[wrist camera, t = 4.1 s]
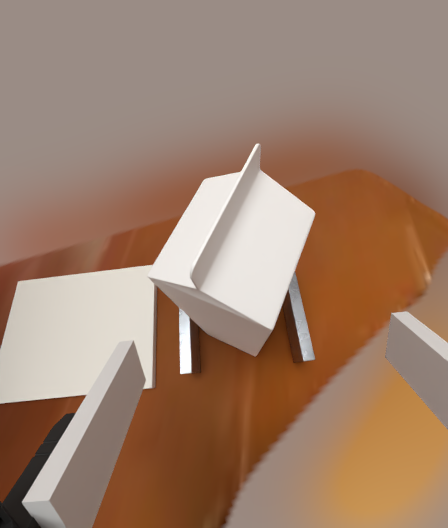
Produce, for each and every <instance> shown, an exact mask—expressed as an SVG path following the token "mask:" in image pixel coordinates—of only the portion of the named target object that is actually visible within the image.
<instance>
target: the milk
mask: <svg viewBox="0 0 448 528" xmlns="http://www.w3.org/2000/svg"><path fill="white" fill-rule="evenodd" d="M260 151H261V147H260V144H256V145H255V147H254V149H253V151H252V152H251V154H250V156H249V158H248V160H247V162H246V164H245V166H244V167H243V169H242V171H241V172H238V173H233V174H228V175H223V176H217V177H212V178H207V179H205V180H204V181H203V182H202V184H201V186H200V187H199V189H198V191H197V192H196V194H195V196H194V197H193V199H192V201H191V202H190V204H189V206H188V207H187V209H186V211H185V212H184V214H183V216H182V217H181V219H180V221H179V222H178V224H177V226H176V228H175V229H174V231H173V233H172V234H171V236H170V238H169V239H168V241H167V243H166V244H165V246H164V248H163V249H162V251H161V253H160V254H159V256H158V258H157V259H156V261H155V263H154V264H153V266H152V268H151V270H150V271H149V273H148V275H147V277H148V278H149V279H150V280H151V281H152V282H153V283H154V284H155V285H156V286H157V287H158V288H159V289H161V290H162V291H163V292H164V293H165V294H166V295H167V296H168V297H169V298H170V299H171V300H172V301H173V302H174V303H175V304H176V305H177V306H178V307H179V308H180V309H181V310H182V311H184V312H185V313H186V314H187V315H188V316H189V317H190V318H191V319H192V320H193V321H194V322H195V323H196V324H197V325H198V326H199V327H200V328H201V329H202V330H203V331H204V332H206V333H207V334H208V335H210V336H212V337H214V338H216V339H218V340H220V341H223V342H225V343H227V344H229V345H231V346H233V347H236V348H238V349H240V350H242V351H244V352H246V353H249V354H251V355H253V356H255V357H256V356H257V354H258V353H259V351H260V349H261V348H262V346H263V345H264V343H265V342H266V340H267V338H268V337H269V335H270V334H271V332H272V330H273V329H274V326H275V324H276V321H277V318H278V315H279V313H280V310H281V307H282V304H283V302H284V299H285V296H286V293H287V291H288V288H289V285H290V283H291V280H292V277H293V274H294V272H295V269H296V266H297V263H298V261H299V258H300V255H301V252H302V250H303V247H304V244H305V241H306V239H307V236H308V233H309V231H310V228H311V225H312V222H313V220H314V217H315V212H314V211H313V210H312V209H311V208H309V207H308V206H307V205H306V204H304V203H303V202H302V201H300V200H299V199H298V198H296V197H295V196H294V195H292V194H291V193H290V192H288V191H287V190H286V189H285V188H283V187H282V186H281V185H279V184H278V183H277V182H275V181H274V180H273V179H271V178H270V177H269V176H268V175H266V174H265V173H264V172H262V171H261V170H260Z"/></svg>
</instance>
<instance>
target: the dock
mask: <svg viewBox="0 0 448 528" xmlns="http://www.w3.org/2000/svg"><path fill="white" fill-rule="evenodd" d="M282 305H283V310H284V316H285V321H286V326H287V331H288V336H289V341H290V346H291V351H292V356H293V362H294V363H296V362H305V361H310V360H315V357H314V352H313V348H312V344H311V339H310V335H309V331H308V326H307V322H306V318H305V313H304V309H303V305H302V300H301V296H300V291H299V287H298V283H297V278H296V274H295V272H294V274H293V277H292V280H291V283H290V285H289V288H288V291H287V293H286V296H285V299H284V302H283V304H282ZM179 329H180V374H187V373H200V372H201V365H200V345H199V326H198V325H197V324H196V323H195V322H194V321H193V320H192V319H191V318H190V317H189V316H188V315H187V314H186V313H185V312H184V311H182V310H181V309H180V308H179Z"/></svg>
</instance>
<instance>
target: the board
mask: <svg viewBox="0 0 448 528" xmlns="http://www.w3.org/2000/svg"><path fill="white" fill-rule="evenodd" d="M152 266H153V265H149V266H140V267H132V268H124V269H116V270H108V271H99V272H91V273H83V274H75V275H67V276H59V277H50V278H42V279H34V280H26V281H18V284H17V288H16V292H15V296H14V300H13V303H12V307H11V311H10V315H9V319H8V322H7V326H6V330H5V334H4V338H3V342H2V345H1V349H0V403H10V402H20V401H29V400H39V399H49V398H59V397H68V396H78V395H87V394H88V392H89V391H90V389H91V387H92V386H93V384H94V382H95V381H96V379H97V378H98V376H99V374H100V373H101V371H102V369H103V368H104V366H105V364H106V363H107V361H108V359H109V358H110V356H111V354H112V353H113V351H114V350H115V348H116V346H117V345H118V343H119V342H121V341H130V340H134V343H135V346H136V349H137V353H138V356H139V359H140V362H141V366H142V369H143V372H144V375H145V378H146V382H145V385H144V387H143V389H146V388H154V387H155V375H156V318H157V286H156V285H155V284H154V283H153V282H152V281H151V280H150V279H149V278H148V277H147V275H148V273H149V271H150V270H151V268H152Z"/></svg>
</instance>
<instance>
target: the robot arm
mask: <svg viewBox="0 0 448 528" xmlns="http://www.w3.org/2000/svg"><path fill="white" fill-rule="evenodd" d="M385 357H386V359H387V360H388V361H389V362H390V363H391V364H392V365H393V367H394V368H395V369H396V370H397V371H398V373H399V374H400V375H401V376H402V377H403V378H404V379H405V381H406V382H407V383H408V384H409V385H410V386H411V388H412V389H413V390H414V391H415V392H416V393H417V395H418V396H419V397H420V398H421V399H422V400H423V401H424V403H425V404H426V405H427V406H428V407H429V408H430V409H431V411H432V412H433V413H434V414H435V415H436V416H437V418H438V419H439V420H440V421H441V422H442V423H443V425H444V426H445V427H446V428H447V429H448V343H447V342H446V341H444V340H443V339H442V338H441V337H439V336H438V335H437V334H435V333H434V332H433V331H431V330H430V329H429V328H428V327H426V326H425V325H424V324H422V323H421V322H420V321H419V320H417V319H416V318H415V317H413V316H412V315H411V314H410V313H408V312H398V313H391V319H390V326H389V333H388V341H387V348H386V355H385ZM145 382H146V378H145V375H144V372H143V369H142V366H141V362H140V359H139V356H138V353H137V349H136V346H135V343H134V340H130V341H121V342H119V343H118V345H117V346H116V348H115V350H114V351H113V353H112V354H111V356H110V358H109V359H108V361H107V363H106V364H105V366H104V368H103V369H102V371H101V373H100V374H99V376H98V378H97V379H96V381H95V382H94V384H93V386H92V387H91V389H90V391H89V392H88V394H87V396H86V397H85V399H84V401H83V402H82V404H81V406H80V407H79V409H78V410H77V412H76V413H71V414H66V415H65V416H64V417H63V418H62V419H61V420H60V421H59V422H58V423H57V424H55V425H54V426H53V428H52V429H51V431H50V432H49V434H48V435H47V437H46V438H45V440H44V443H43V444H41V446H40V447H39V449H38V450H37V452H36V453H35V457H33V458H32V459H31V461H30V462H29V464H28V465H27V467H26V468H25V470H24V472H23V473H22V475H21V476H20V478H19V479H18V481H17V482H16V484H15V485H14V487H13V488H12V490H11V491H10V493H9V494H8V496H7V497H6V499H5V500H4V502H3V503H1V502H0V528H92V526H93V523H94V521H95V518H96V515H97V512H98V510H99V507H100V504H101V502H102V499H103V496H104V493H105V491H106V488H107V485H108V483H109V480H110V477H111V474H112V472H113V469H114V466H115V464H116V461H117V458H118V455H119V453H120V450H121V447H122V445H123V442H124V439H125V436H126V434H127V431H128V428H129V425H130V423H131V420H132V417H133V415H134V412H135V409H136V406H137V404H138V401H139V398H140V396H141V393H142V390H143V387H144V385H145Z"/></svg>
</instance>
